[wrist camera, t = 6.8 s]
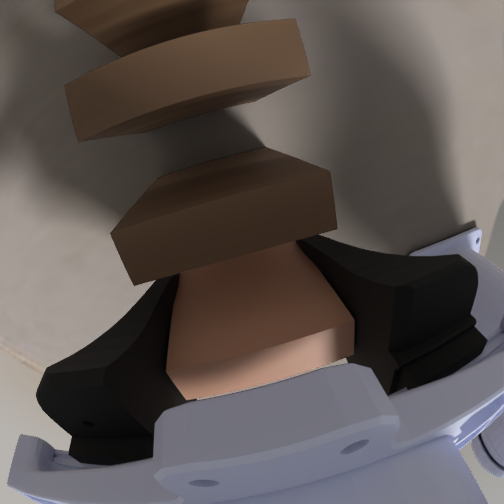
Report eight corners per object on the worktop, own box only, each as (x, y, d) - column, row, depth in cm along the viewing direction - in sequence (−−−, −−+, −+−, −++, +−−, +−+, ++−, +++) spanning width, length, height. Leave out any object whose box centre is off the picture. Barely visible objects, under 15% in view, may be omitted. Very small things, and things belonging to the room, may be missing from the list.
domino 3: (272, 176, 13) (337, 229, 6) (168, 205, 12) (134, 285, 6) (266, 147, 12) (330, 171, 6) (159, 177, 12) (110, 233, 6)
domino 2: (255, 101, 11) (311, 75, 5) (145, 132, 11) (78, 142, 5) (247, 73, 10) (295, 18, 4) (137, 103, 10) (64, 85, 4)
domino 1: (237, 31, 9) (269, -51, 3) (127, 62, 9) (55, 11, 3) (229, 8, 9) (255, -82, 3) (122, 38, 9) (54, -24, 2)
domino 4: (290, 251, 14) (353, 354, 7) (190, 278, 13) (186, 400, 7) (285, 224, 13) (354, 319, 7) (181, 253, 13) (165, 371, 6)
